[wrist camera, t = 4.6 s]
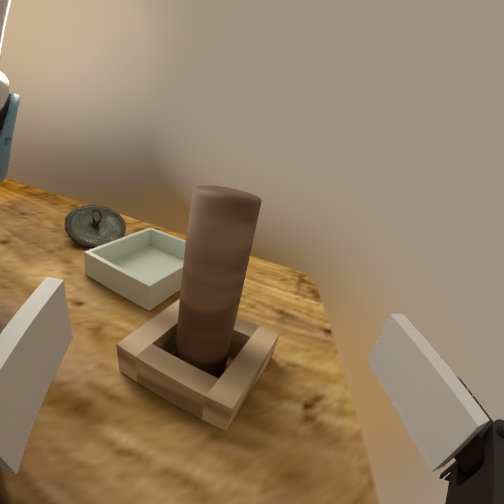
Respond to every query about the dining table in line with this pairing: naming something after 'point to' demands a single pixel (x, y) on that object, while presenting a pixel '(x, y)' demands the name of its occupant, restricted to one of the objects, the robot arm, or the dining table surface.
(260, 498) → the dining table surface
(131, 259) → the tray
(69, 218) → the lid
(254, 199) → the dowel
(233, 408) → the square wooden peg frame
